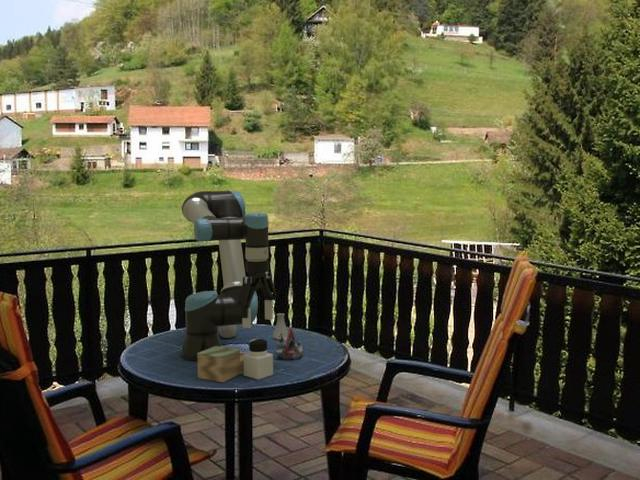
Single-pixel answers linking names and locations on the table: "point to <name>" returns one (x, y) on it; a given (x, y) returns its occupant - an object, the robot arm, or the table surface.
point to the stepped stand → (220, 363)
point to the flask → (280, 326)
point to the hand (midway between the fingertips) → (258, 323)
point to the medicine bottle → (258, 360)
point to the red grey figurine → (288, 346)
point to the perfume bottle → (228, 331)
